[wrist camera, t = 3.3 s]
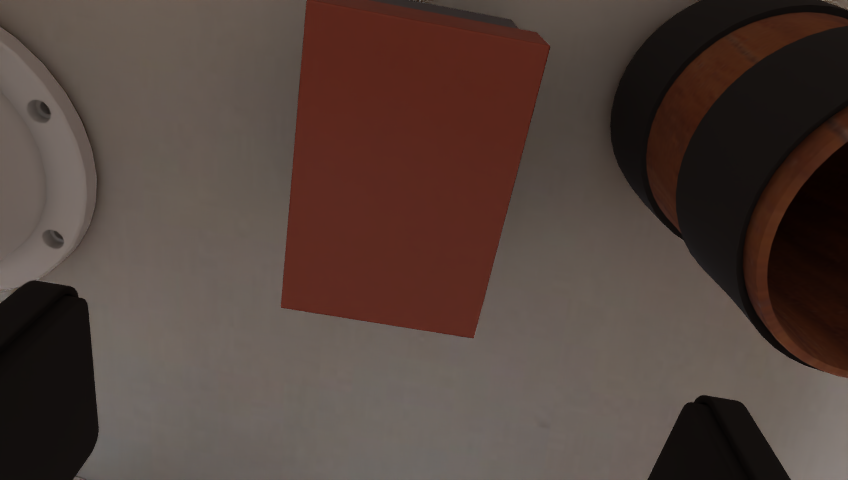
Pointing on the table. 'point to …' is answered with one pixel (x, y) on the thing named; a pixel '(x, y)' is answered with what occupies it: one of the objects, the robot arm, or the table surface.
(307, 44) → the rust book
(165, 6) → the table surface
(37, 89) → the robot arm
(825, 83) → the mug
